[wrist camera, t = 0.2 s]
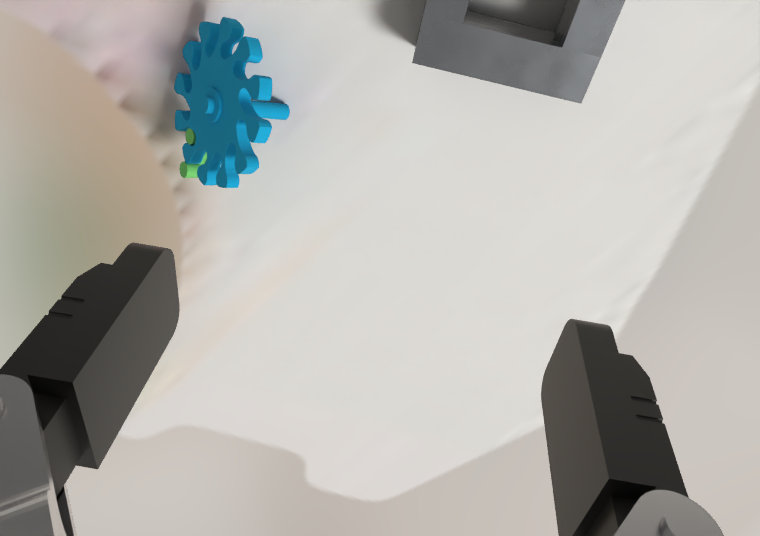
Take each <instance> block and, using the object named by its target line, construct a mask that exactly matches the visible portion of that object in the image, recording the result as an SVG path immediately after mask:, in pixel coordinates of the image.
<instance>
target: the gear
mask: <svg viewBox="0 0 760 536" xmlns="http://www.w3.org/2000/svg"><path fill="white" fill-rule="evenodd" d="M199 34H200V38H201V42H196V41H189V42H188V43H187V44H186V45H185V46H184V48H183V56H184V59H185V60H186V62H187V64H188V66H189V69H190V73H191V74H183V73H178V75H177V77H176V81H175V85H174V89H175V91H176V93H177V94H181V95H182V96H183V97H184V98H185V99H186V101H187V103H188V105H189V107H190V111H182V110H177V111H176V113H175V128H176V130H178V131H186V141H187V143H185V144H184V145H183V147H182V149H183V155H184V159H185V162H182V163H181V164H180V174H181V176H182V177H183V178H199V180H200V181H201V182H202V184H203V185H216V184H217V185H218V186H219V187H222V188H238V186H239V176H238V174H251V173H253V172H255V171H256V170H257V169H258V168H259V161H258V158H257V156H256V155H255V153H254V152H253V150H252V147H251V144H250V141H251V142H253V143H266V141H267V140H268V138H269V135H270V132H271V129H272V126H271V123H270V122H269V121H268V120H265V119H262V118H268V119H280V120H286V119H287V118H288V117H289V113H290V111H289V107H288V105H287V104H280V103H271V102H261V101H251V98H252V99H254V100H263V101H269V100H270V99H271V95H272V79H271V78H270V77H266V76H259V75H254V76H252V77H251V78H250V79H247V78H246V76H245V66H246V63H247V62H251V63H259V62H260V61H261V59H262V57H263V56H262V49H261V45H260V43H259V40H258V39H256V38H251V37H243V35H244V28H243V26H242V25H241V24H240V23H239V22H238V21H237V20H235V19H230V18H226V17H223V18H222V20H221V22H220V24H216V23H211V22H202V23H200V26H199ZM238 42H239V45H238V47H237V49H236V51H235V52H234V54H233V55H232V49H233V46H234V45H235V44H236V43H238ZM220 166H221V167H220Z"/></svg>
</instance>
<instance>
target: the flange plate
mask: <svg viewBox="0 0 760 536" xmlns="http://www.w3.org/2000/svg"><path fill="white" fill-rule="evenodd" d="M624 2H625V0H567V3H566V5H565V8H564V11H563V13H562V16H561V19H560V22H559V24H558V27H557V30H556V32H551V31H547V30H543V29H539V28H535V27H531V26H527V25H523V24H519V23H515V22H510V21H506V20H502V19H498V18H494V17H490V16H486V15H482V14H478V13H474V12H470V11H467V7H468V4H469V0H426V5H425V9H424V13H423V18H422V22H421V26H420V30H419V35H418V39H417V43H416V48H415V52H414V57H413V62H412V63H415V64H419V65H423V66H427V67H432V68H436V69H440V70H444V71H448V72H452V73H456V74H461V75H465V76H469V77H473V78H477V79H481V80H486V81H490V82H494V83H498V84H502V85H506V86H510V87H515V88H519V89H523V90H527V91H531V92H535V93H539V94H544V95H548V96H552V97H556V98H560V99H564V100H569V101H573V102H577V103H582V100H583V98H584V96H585V93H586V91H587V89H588V86H589V84H590V82H591V79H592V77H593V75H594V72H595V70H596V68H597V65H598V63H599V61H600V58H601V56H602V54H603V51H604V49H605V47H606V44H607V42H608V40H609V37H610V35H611V32H612V30H613V28H614V25H615V23H616V21H617V18H618V16H619V14H620V11H621V9H622V7H623V4H624Z"/></svg>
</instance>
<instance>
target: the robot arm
mask: <svg viewBox="0 0 760 536" xmlns="http://www.w3.org/2000/svg"><path fill="white" fill-rule="evenodd" d="M178 317H179V297H178V288H177V279H176V270H175V261H174V255H173V252H172V251H171V249H168V248H162V247H156V246H150V245H145V244H139V243H131V244H129V245H128V246H127V247H126V248H125V250H124V251H123V252H122V253H121V255H120V256H119V257H118V258H117V260H116V261H115V262H114V264H113V265H110V264H104V263H100V264H98V265H97V266H95V267H93V268H92V269H90V270H88V271H87V272H85V273H83V274H82V275H80V276H78V277H77V278H76V279H75V280H74V282H73V283H72V284H71V285H70V286H69V288H68V289H67V290H66V291H65V292H64V294H63V295H62V298H61V300H58V301H57V302H56V303H55V304H54V306H53V307H52V308H51V309H50V310H49V314H48V315H45V316H44V318H43V319H42V320H41V321H40V322H39V324H38V325H37V326H36V327H35V328H34V329H33V331H32V332H31V333H30V334H29V335H28V337H27V338H26V339H25V340H24V341H23V343H22V344H21V345H20V346H19V347H18V349H17V350H16V351H15V352H14V353H13V355H12V356H11V357H10V358H9V359H8V360H7V362H6V363H5V364H4V365H3V367H2V368H1V369H0V536H77V535H76V530H75V525H74V521H73V516H72V512H71V507H70V502H69V497H68V492H67V488H66V485H65V483H66V481H67V479H68V478H69V476H70V474H71V473H72V471H73V469H74V468H75V466H76V465H77V466H83V467H88V468H94V469H98V468H99V466H100V464H101V463H102V461H103V459H104V457H105V455H106V454H107V452H108V450H109V448H110V447H111V445H112V443H113V441H114V439H115V438H116V436H117V434H118V432H119V431H120V429H121V427H122V425H123V423H124V422H125V420H126V418H127V416H128V415H129V413H130V411H131V409H132V407H133V406H134V404H135V402H136V400H137V398H138V397H139V395H140V393H141V391H142V390H143V388H144V386H145V384H146V382H147V381H148V379H149V377H150V375H151V373H152V372H153V370H154V368H155V366H156V365H157V363H158V361H159V359H160V357H161V356H162V354H163V352H164V350H165V349H166V347H167V345H168V343H169V341H170V340H171V338H172V336H173V334H174V332H175V329H176V326H177V322H178ZM541 400H542V408H543V416H544V424H545V431H546V439H547V447H548V455H549V462H550V471H551V479H552V486H553V493H554V501H555V510H556V517H557V525H558V533H559V536H724V535H723V533H722V531H721V529H720V527H719V526H718V524H717V523H716V521H715V520H714V519H713V518H712V517H711V515H710V514H709V513H708V512H707V511H706V510H705V509H704V508H702V507H701V506H700V505H698V504H697V503H696V502H694V501H692V500H691V499H689V498H688V495H687V492H686V489H685V486H684V483H683V479H682V476H681V474H680V470H679V467H678V464H677V461H676V458H675V455H674V452H673V449H672V446H671V442H670V439H669V437H668V433H667V430H666V427H665V424H663V423H662V420H663V418H662V415H661V412H660V409H659V406H658V405H656V401H657V400H656V396H655V393H654V390H653V387H652V384H651V381H650V378H649V376H648V375H647V374H646V372H645V371H644V370H643V369H642V367H641V366H640V365H639V364H638V362H637V361H636V360H635V359H634V357H633V356H631V355H626V354H620V353H618V350H617V346H616V342H615V339H614V335H613V332H612V329H611V327H610V326H608V325H604V324H598V323H592V322H587V321H581V320H575V319H570V320H568V322H567V323H566V325H565V327H564V329H563V331H562V333H561V336H560V338H559V340H558V343H557V345H556V347H555V349H554V352H553V354H552V356H551V359H550V361H549V363H548V365H547V368H546V370H545V373H544V377H543V382H542V390H541Z"/></svg>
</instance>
